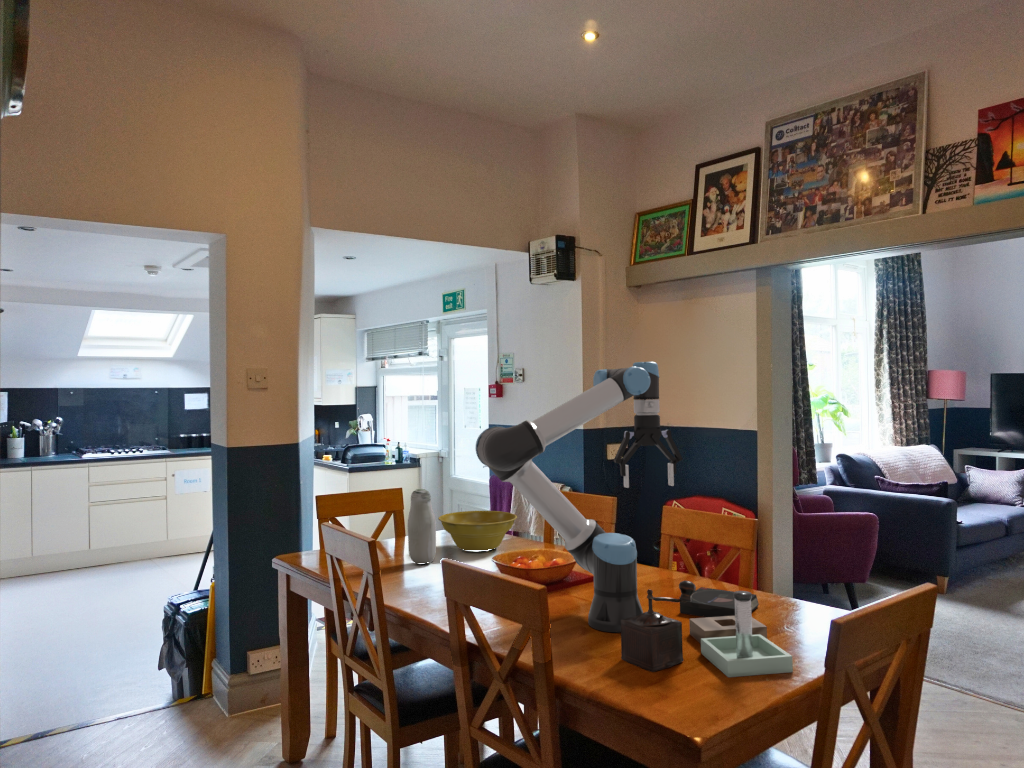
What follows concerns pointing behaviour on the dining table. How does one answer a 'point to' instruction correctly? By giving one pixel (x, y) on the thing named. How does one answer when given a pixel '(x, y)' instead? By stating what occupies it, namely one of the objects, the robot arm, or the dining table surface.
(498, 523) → the planter bowl
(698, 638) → the block
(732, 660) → the tray
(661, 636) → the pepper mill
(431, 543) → the grey bottle
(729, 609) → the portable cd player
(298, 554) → the dining table surface
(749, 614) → the clear capped cylinder
